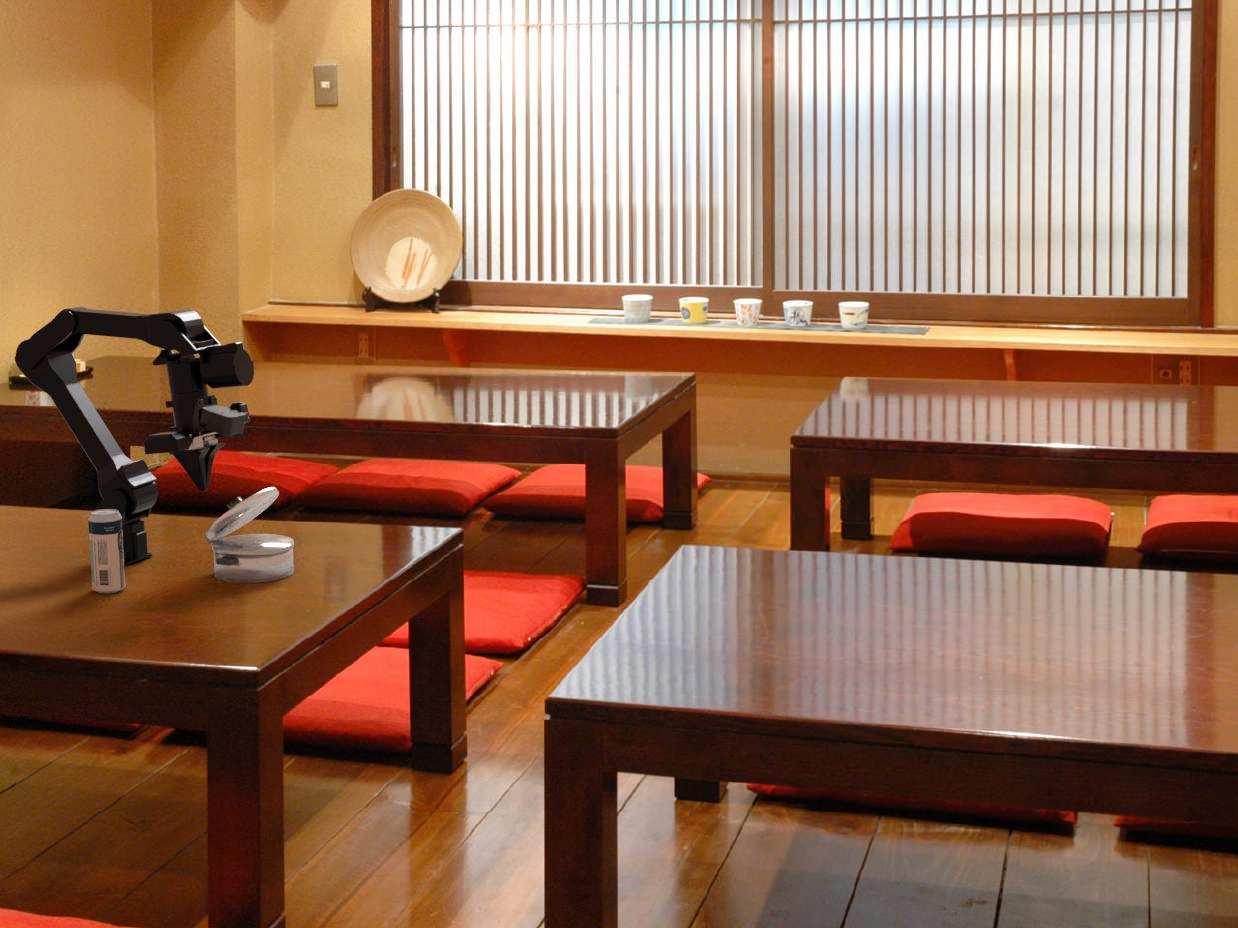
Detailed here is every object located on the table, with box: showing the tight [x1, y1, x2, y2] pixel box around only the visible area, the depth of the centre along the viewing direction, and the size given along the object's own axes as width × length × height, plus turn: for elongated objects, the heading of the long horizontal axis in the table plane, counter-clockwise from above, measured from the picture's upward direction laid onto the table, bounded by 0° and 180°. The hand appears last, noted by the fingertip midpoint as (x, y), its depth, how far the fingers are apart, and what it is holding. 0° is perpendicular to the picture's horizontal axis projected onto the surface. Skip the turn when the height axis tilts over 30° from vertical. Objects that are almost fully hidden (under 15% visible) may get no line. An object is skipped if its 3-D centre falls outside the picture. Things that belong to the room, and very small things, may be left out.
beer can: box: [87, 509, 126, 595], centre depth 236 cm, size 5×5×12 cm
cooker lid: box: [205, 486, 280, 545], centre depth 246 cm, size 14×13×3 cm
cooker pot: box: [211, 533, 295, 584], centre depth 247 cm, size 12×16×5 cm
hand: (203, 490), depth 248 cm, fingers closed
